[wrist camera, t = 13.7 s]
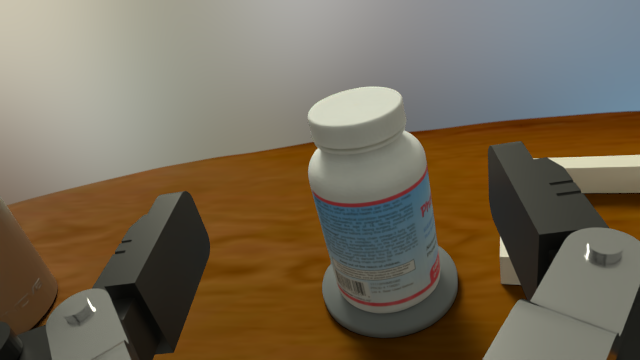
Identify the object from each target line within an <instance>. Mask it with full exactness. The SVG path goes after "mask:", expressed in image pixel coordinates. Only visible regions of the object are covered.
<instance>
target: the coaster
mask: <svg viewBox="0 0 640 360" xmlns="http://www.w3.org/2000/svg"><path fill="white" fill-rule="evenodd" d="M438 252H439V260H440V278H439V282H438V284H437V286H436V288H435V289H434V290H433V292H432V293H431V294H430V295H429V296H428V297H427V298H425V299H424V300H423V301H421V302H420V303H418V304H416V305H414V306H412V307H409V308H407V309H404V310H401V311H398V312H392V313H372V312H368V311H364V310H361V309H359V308H357V307H355V306H353V305H352V304H350V303H349V302H348V301H347V300H346V299H345V298H344V297H343V296H342V294H341V292H340V290H339V288H338V285H337V281H336V278H335V274H334V271H333V267H332V263H331V264H330V266H329V267H328V269H327V271H326V273H325V276H324V279H323V284H322V292H323V296H324V300H325V303H326V306H327V309H328V311H329V312H330V314H331V316H332V317H333V318H334V319H335V320H336V321H337V322H338V323H339V324H341V325H342V326H343V327H345V328H347V329H348V330H350V331H353V332H355V333H357V334H361V335H364V336H369V337H377V338H392V337H400V336H405V335H409V334H413V333H416V332H418V331H421V330H423V329H425V328H427V327H429V326H431V325H432V324H434V323H435V322H437V321H438V320H439V319H440V318H442V317H443V316H444V315H445V314H446V313H447V311H448V310H449V309H450V308H451V306H452V304H453V303H454V300H455V298H456V295H457V291H458V278H457V271H456V267H455V264H454V262H453V260H452V259H451V257H450V256H449V255H448V254H447V252H446V251H444V250H443V249H442V248H441V247H439V246H438Z"/></svg>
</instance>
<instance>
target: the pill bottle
mask: <svg viewBox="0 0 640 360" xmlns="http://www.w3.org/2000/svg"><path fill="white" fill-rule="evenodd" d="M308 122H309V126H310V130H311V137H312V139H313V141H314V142H315V145H316V146H317V147H318V149H317V150H316V151H315V153H314V154H313V156H312V158H311V160H310V163H309V168H308V177H309V182H310V186H311V190H312V194H313V197H314V201H315V205H316V209H317V212H318V216H319V219H320V223H321V227H322V230H323V234H324V238H325V241H326V245H327V249H328V252H329V256H330V260H331V263H332V267H333V271H334V274H335V278H336V281H337V285H338V288H339V290H340V292H341V294H342V296H343V297H344V298H345V299H346V300H347V301H348V302H349V303H350V304H352V305H353V306H355V307H357V308H359V309H361V310H364V311H368V312H372V313H392V312H398V311H401V310H404V309H407V308H409V307H412V306H414V305H416V304H418V303H420V302H421V301H423V300H424V299H425V298H427V297H428V296H429V295H430V294H431V293H432V292H433V290H434V289H435V288H436V286H437V284H438V282H439V278H440V260H439V252H438V245H437V238H436V229H435V222H434V215H433V207H432V200H431V192H430V184H429V177H428V169H427V162H426V156H425V152H424V149H423V147H422V145H421V144H420V142H419V141H418V140H417V139H416V138H415V137H414V136H413V135H411V134H410V133H408V132H406V131H404V129H405V123H406V115H405V112H404V105H403V100H402V96H401V95H400V94H399V93H398V92H397V91H395V90H393V89H390V88H385V87H362V88H356V89H351V90H347V91H343V92H340V93H336V94H334V95H331V96H329V97H327V98H325V99H323V100H321V101H319V102H318V103H316V104H315V105H314V106H313V107H312V108H311V109H310V111H309V113H308Z"/></svg>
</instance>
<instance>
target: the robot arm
mask: <svg viewBox="0 0 640 360" xmlns="http://www.w3.org/2000/svg"><path fill="white" fill-rule="evenodd" d="M488 172H489V202H490V208H491V213H492V217H493V220H494V223H495V225H496V227H497V230H498V232H499V234H500V237H501V239H502V241H503V244H504V246H505V248H506V251H507V253H508V256H509V258H510V260H511V263H512V265H513V267H514V270H515V272H516V274H517V277H518V279H519V281H520V284H521V286H522V288H523V291H524V293H525V296H526V298H527V300H526V299H520V300H519V301H517V303H516V304H515V305H514V307H513V309H512V310H511V312H510V314H509V315H508V317H507V319H506V320H505V322H504V324H503V325H502V327H501V329H500V331H499V332H498V334H497V336H496V337H495V339H494V341H493V342H492V344H491V346H490V347H489V349H488V351H487V353H486V354H485V356H484V358H483V359H482V360H640V241H638V240H637V239H635V238H634V237H632V236H630V235H628V234H626V233H624V232H621V231H618V230H614V229H609V227H608V226H607V224H606V223H605V222H604V220H603V219H602V218H601V216H600V215H599V214H598V212H597V211H596V210H595V208H594V207H593V206H592V204H591V203H590V202H589V200H588V199H587V198H586V196H585V195H584V194H583V193H581V190H580V188H579V187H578V186H577V184H576V183H575V182H573V179H572V178H571V176H570V175H569V174H568V172H567V171H566V169H565V168H564V167H563V166H561V165H559V164H557V163H556V162H554V161H552V160H550V159H548V158H547V157H546V158H539V159H533V158H532V156H531V155H530V153H529V152H528V150H527V149H526V147H525V146H524V144H523V143H522V142H521V141H519V142H512V143H505V144H499V145H492V146H489V149H488ZM209 254H210V242H209V237H208V234H207V231H206V229H205V227H204V224H203V222H202V220H201V217H200V215H199V212H198V210H197V208H196V205H195V203H194V201H193V198H192V196H191V195H190V194H189V193H188V192H187V191H183V192H177V193H170V194H164V195H159V196H158V197H157V199H156V200H155V202H154V204H153V206H152V207H151V209H150V211H149V212H148V214H147V215H143V216H142V217H141V218H140V219H139V220H138V221H137V222H136V223H135V224H133V225H132V226H131V227H130V228H129V230H128V231H127V233H126V235H125V236H124V238H123V239H122V243H121V244H119V246H118V247H117V249H116V251H115V254H114V255H112V257H111V259H110V260H109V262H108V263H107V265H106V267H105V268H104V270H103V272H102V273H101V275H100V276H99V278H98V280H97V281H96V283H95V284H94V286H93V288H92V289H88V290H85V291H82V292H79V293H77V294H75V295H73V296H71V297H69V298H68V299H66V300H65V301H63V302H62V303H61V304H60V305H59V306H58V307H57V308H56V309H55V310H54V311H53V312H52V313H51V315H50V316H49V318H48V320H47V323H46V325H44V326H41V327H38V328H35V329H33V330H30V329H31V328H32V327H33V326H34V325H35V324H36V323H37V322H38V321H39V320H40V319H41V318H42V317H43V316H44V315H45V313H46V312H47V311H48V309H49V308H50V306H51V305H52V303H53V302H54V299H55V297H56V294H57V288H58V285H57V282H56V280H55V278H54V277H53V275H52V274H51V272H50V271H49V269H48V268H47V266H46V265H45V263H44V262H43V260H42V259H41V257H40V256H39V254H38V253H37V251H36V250H35V248H34V247H33V245H32V244H31V242H30V240H29V239H28V237H27V236H26V234H25V233H24V231H23V230H22V228H21V227H20V225H19V224H18V222H17V221H16V219H15V218H14V216H13V215H12V213H11V212H10V210H9V209H8V207H7V206H6V204H5V203H4V201H3V200H2V198H1V197H0V360H153V357H154V355H155V354H164V353H174V350H175V348H176V345H177V342H178V340H179V337H180V334H181V331H182V329H183V326H184V323H185V320H186V318H187V315H188V312H189V310H190V307H191V304H192V301H193V299H194V296H195V293H196V290H197V288H198V285H199V282H200V280H201V277H202V274H203V271H204V269H205V266H206V263H207V260H208V258H209ZM29 330H30V331H29Z"/></svg>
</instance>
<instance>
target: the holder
mask: <svg viewBox="0 0 640 360" xmlns="http://www.w3.org/2000/svg"><path fill="white" fill-rule="evenodd" d="M535 159H539V158H535ZM548 159H550V160H552V161H554V162H556V163H557V164H559V165H561V166H563V167H564V168H565V169H566V171H567V172H568V174H569V175H570V176H571V178H572V179H573V182H575V183H576V184H577V186H578V187H579V188H580V190H581V193H640V155H627V156H596V157H566V158H548ZM500 272H501V284H513V285H521V284H520V281H519V279H518V277H517V274H516V272H515V270H514V267H513V265H512V263H511V260H510V258H509V256H508V253H507V251H506V248H505V246H504V244H503V241H502V239H501V237H500Z"/></svg>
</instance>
